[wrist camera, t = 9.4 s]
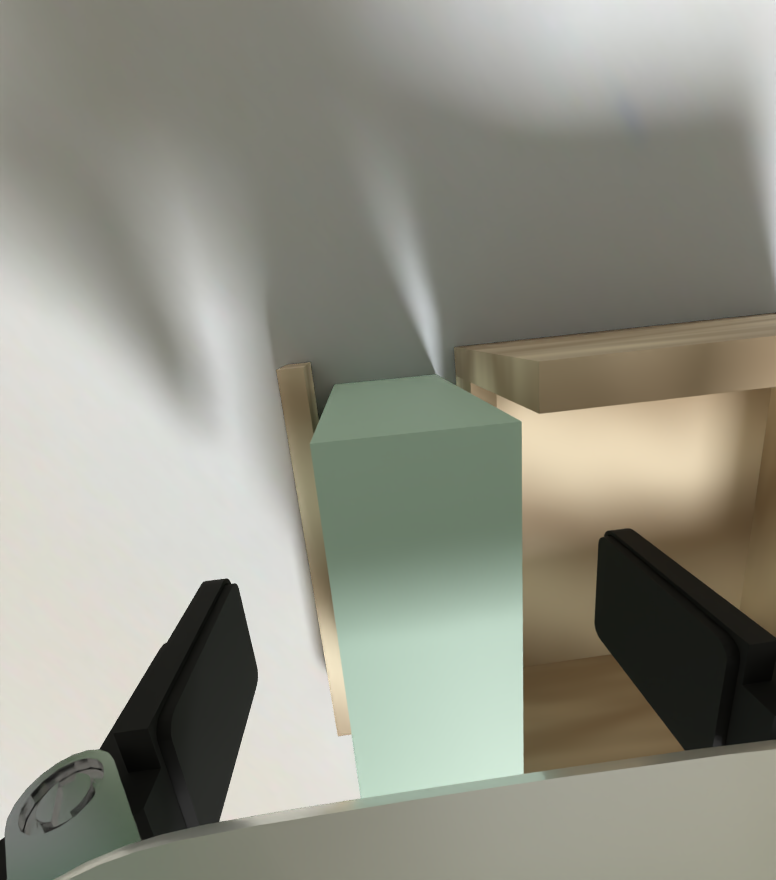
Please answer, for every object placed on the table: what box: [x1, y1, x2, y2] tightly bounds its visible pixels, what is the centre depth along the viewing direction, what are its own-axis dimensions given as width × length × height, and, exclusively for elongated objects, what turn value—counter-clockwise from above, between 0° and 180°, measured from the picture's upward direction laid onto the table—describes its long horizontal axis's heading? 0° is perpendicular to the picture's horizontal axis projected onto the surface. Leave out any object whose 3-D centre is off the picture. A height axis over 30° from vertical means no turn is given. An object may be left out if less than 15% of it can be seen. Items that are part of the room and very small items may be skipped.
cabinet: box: [276, 313, 776, 774], centre depth 13 cm, size 16×18×8 cm
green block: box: [310, 374, 524, 798], centre depth 12 cm, size 12×4×8 cm, turn 5°
